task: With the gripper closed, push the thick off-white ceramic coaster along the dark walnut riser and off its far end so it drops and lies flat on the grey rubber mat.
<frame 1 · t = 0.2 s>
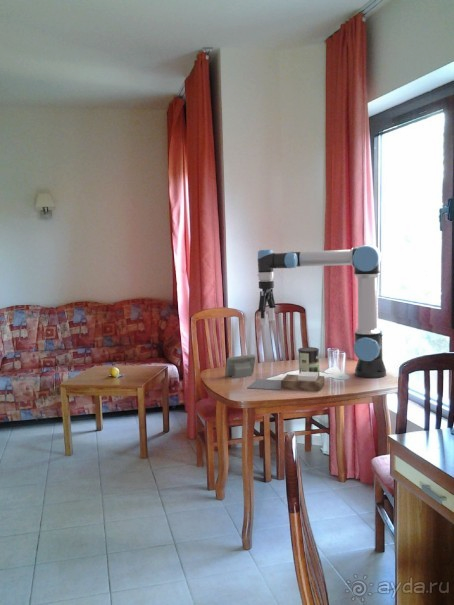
hand: (267, 322, 267), 28 cm above the table, tool pointing down, fingers open, 13 cm apart
coaster: (308, 378, 247), point 4 cm above the table, touching riser
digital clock: (240, 375, 275), on the table
riser: (303, 386, 248), on the table
mat: (268, 384, 254), on the table
coffee can: (309, 377, 266), on the table
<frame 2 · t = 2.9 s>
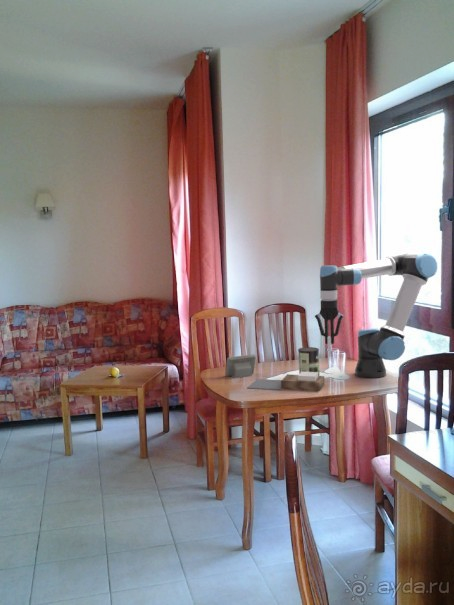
hand: (329, 350, 242), 17 cm above the table, tool pointing down, fingers closed
nothing on the table moved.
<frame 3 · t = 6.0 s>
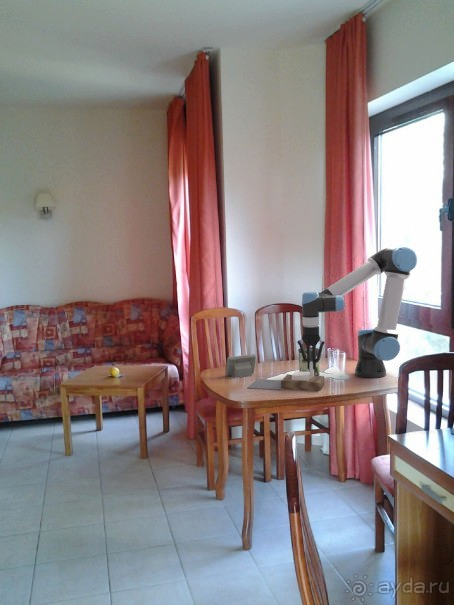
hand: (311, 375, 246), 5 cm above the table, tool pointing down, fingers closed
coaster: (302, 378, 248), point 4 cm above the table
everything else where it was.
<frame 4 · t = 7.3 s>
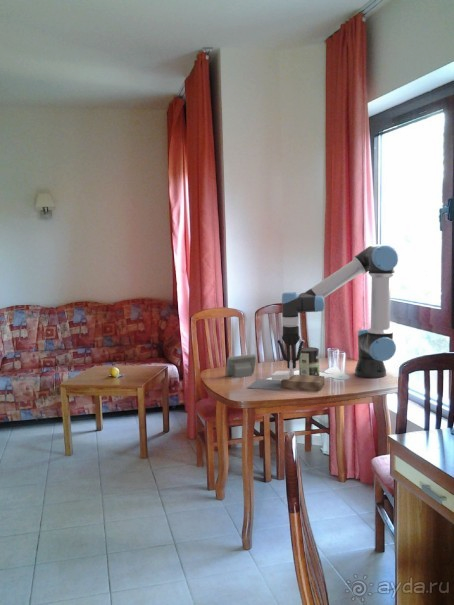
hand: (291, 374, 249), 5 cm above the table, tool pointing down, fingers closed
coaster: (282, 377, 251), point 4 cm above the table, touching gripper
everything else where it was.
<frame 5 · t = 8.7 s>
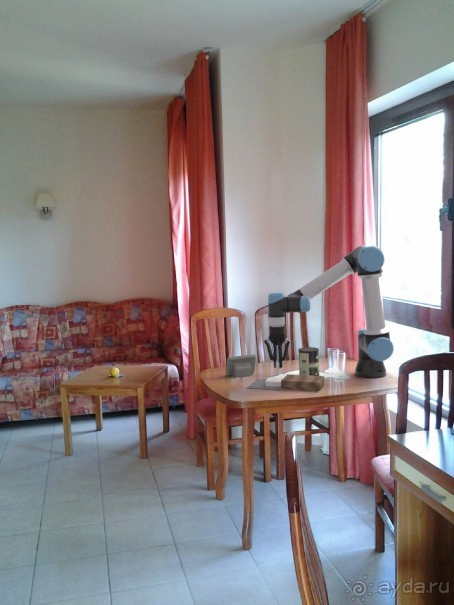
hand: (278, 374, 252), 5 cm above the table, tool pointing down, fingers closed
coaster: (275, 384, 253), resting on mat
everything else where it was.
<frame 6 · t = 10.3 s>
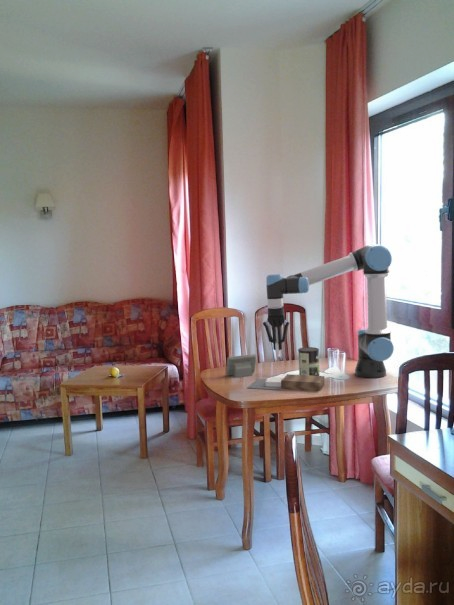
hand: (278, 356, 251), 14 cm above the table, tool pointing down, fingers closed
nothing on the table moved.
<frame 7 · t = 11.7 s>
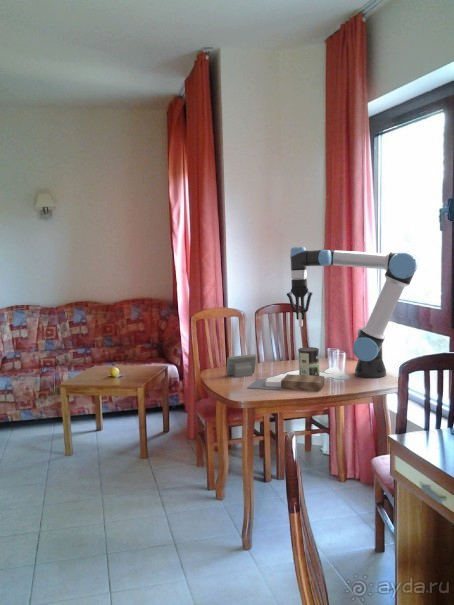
hand: (300, 326, 262), 26 cm above the table, tool pointing down, fingers closed
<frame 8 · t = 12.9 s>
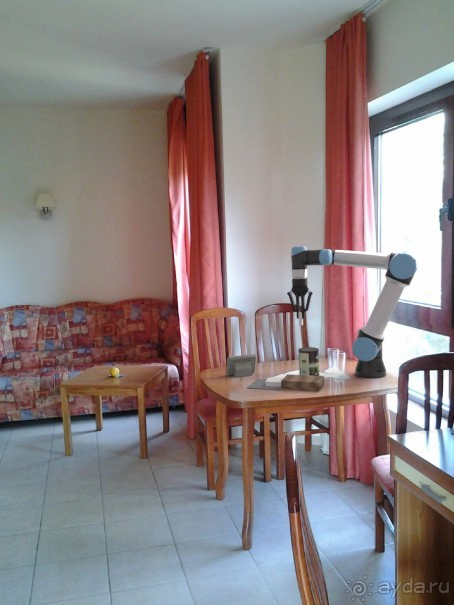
hand: (301, 325, 262), 26 cm above the table, tool pointing down, fingers closed
at the end: coaster inside the target area (4.0 cm from its centre), resting on mat; coaster tilted 0°; the gripper is holding nothing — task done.
